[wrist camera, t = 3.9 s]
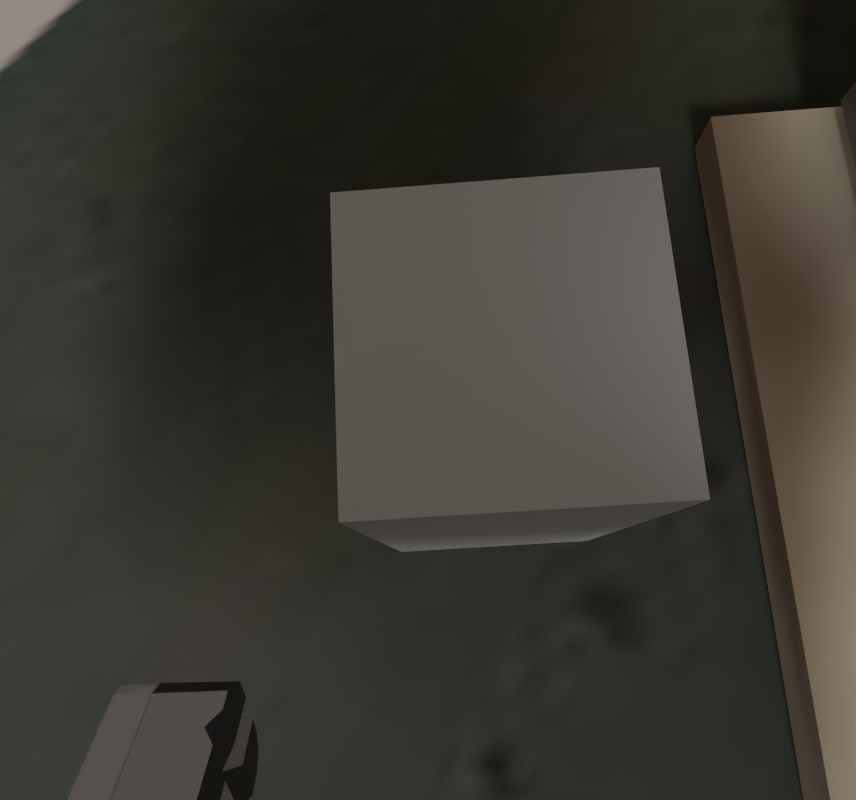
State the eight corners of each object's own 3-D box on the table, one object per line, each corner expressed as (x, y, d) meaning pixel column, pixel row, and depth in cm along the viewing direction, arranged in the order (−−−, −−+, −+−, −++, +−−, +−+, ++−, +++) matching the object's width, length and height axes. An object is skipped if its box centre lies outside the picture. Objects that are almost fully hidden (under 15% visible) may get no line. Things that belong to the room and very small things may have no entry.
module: (401, 551, 20) (338, 522, 10) (392, 367, 21) (329, 180, 11) (587, 540, 19) (710, 499, 10) (567, 355, 21) (657, 154, 11)
